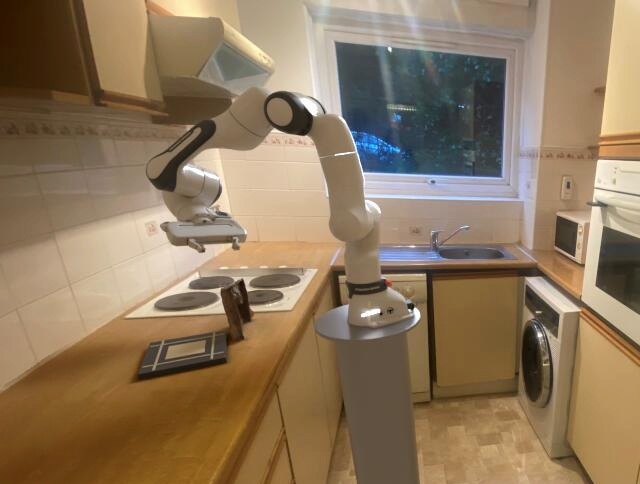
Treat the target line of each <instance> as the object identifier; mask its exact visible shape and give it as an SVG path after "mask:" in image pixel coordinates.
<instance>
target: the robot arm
mask: <svg viewBox="0 0 640 484" xmlns="http://www.w3.org/2000/svg"><path fill="white" fill-rule="evenodd" d="M274 129H275V130H277V131H279V132H281V133H284V134H287V135H293V136H300V137H305V136H306V137H308V138H309V139H311V141H312V142H313V144H314V146H315V149H316V152H317V156H318V159H319V163H320V166H321V169H322V173H323V176H324V179H325V184H326V187H327V196H328V205H329V220H328V228H329V231H330V233H331V235H332V236H333V237H334V238H335V239H337V241H340V242H343V243H345V247H344V248H345V249H344V254H343V265H344V271H345V291H346V296H347V298H348V304H349V308H348V317H347V322H348V323H349V324H351V325H355V326H365V327H370V328H378V327H382V326H385V325H389V324H393V323H396V322H400V321H403V320H407V319H411V318H414V316H415V312H414V308H416V305H415V304H414V303H413V302H412V300H411V299H406V298H405V297H404V296H403V294H402V293H400V292H398V291H396V290H394V289H393V288H391V287H392V286H393V282H392V281H391V279H388V278H387V277H384V276H382V270H381V269H382V268H381V259H380V244H381V222H382V211H381V210H380V207H379V206H378V205H377V204H376V203H375V202H373V201H372V200H368V199H366V196H365V195H366V193H365V180H366V179H365V176H364V172H363V171H364V170H363V167H362V164H361V161H360V156H359V152H358V150H357V145H356V142H355V139H354V138H353V137H354V136H353V135H352V132H351V130H350V128H349V125H348V124H347V122H346V120H345V119H344V117H342V116H340V115H338V114H335V113H328V112H327V110H326V108H325V106H324V105H323V104H322V103H321V102H320V101H319V100H318V99H316V98H314V97H312V96H310V95H305V94H303V93H301V92H297V91H287V90H277V91H274V92H272V91H271V90H270V89H268V88H266V87H264V86H262V85H252V86H250V87H249V88H248V89H245V91H243V92H242V94H240V95H238V97H237V98H236V99H235V100H234V101H233V102H232V103H231V104H230V106H229V107H228V108H227V109H226V110H225V111H223V112H222V113H221V114H219V115H216V116H215V117H212V118H208V119H202V120H200V121H198V122H197V123H195V124H194V125H193V126H191V128H190V129H189V130H187V131H186V132H185V133H183V134H182V135H181V136H180V137H179V138H178V139H177V140H176V141H174V142H173V143H172V144H171V145H170V146H169V147H167V148H166V149H165V150H164V151H162V152H160V153H157V154H156V155H155V156H152V158H150V159H149V161H148V162H147V164H146V167H145V176H146V177H147V179H148V181H149V183H150V184H151V185H152V186H153V187H154V188H155V189H156V190H158V191H161V196H162V201H163V202H164V204H165V206H166V208H167V209H168V211H169V212H170V213H171V214H172V216H173V217H175V218H176V220H177V221H164V222H162V223H160V225H159V227H160V229H161V230H162V231H163V232H164V233H165V235H166V238H167V239H168V242H169V243H170V245H172V246H174V247H189V248H191V249H193V250H195V251H197V252H198V254H204V253H206V250H207V248H206V247H205V246H209V245H225V244H226V245H227V244H231V249H232V250H233V251H240V250H241V245H240V244H244V243H246V241H247V238H248V233H247V230H246V228H244V227H243V226H242V225H241V224H240V222H239V221H237V220H236V219H233V216H232V214H231V213H229V212H225V211H221V210H219V211H218V210H216V209H211V208H210V207H212V206H213V205H214V204H215V203H216V202H217V201H218V200H219V199H220V197H221V195H222V193H223V185H222V181H221V178H220V177H219V176H218V174H217V173H216V171H212V170H210V169H207V168H204V167H202V166H199V165H195V164H192V163H190V162H192V161H193V160H194V159H196V157H198V156H199V155H200V154H201V153H202V152H205V151H207V150H212V149H213V150H214V149H224V150H232V151H239V152H247V151H248V152H249V151H253V150H254V149H257V148H258V147H259V146H260V145H261V144H262V143H263V142H264V141H265V140H266V139H267V137H268V136H269V135H270V133H271V132H273V130H274Z"/></svg>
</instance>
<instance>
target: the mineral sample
mask: <svg viewBox="0 0 640 484" xmlns="http://www.w3.org/2000/svg"><path fill="white" fill-rule="evenodd" d="M219 293H220V299H221V303H222V307H223V310H224V313H225V315H226V319H227V323H228V328H229V331H230V335H231V339H232V340H234V341H243V340H245V336H244V333H243V325H244V323H249V322H253V321H254V319H253V317H254V316H255V312H254V310H252V308H251V305H250V297H249V291H248V289H247V286H246V281H245V280H244V277H241V278H240V279H238V280H237V281H234V283H231V284H226V285H225V286H222V287H221V288H220V292H219Z"/></svg>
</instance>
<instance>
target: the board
mask: <svg viewBox="0 0 640 484" xmlns="http://www.w3.org/2000/svg"><path fill="white" fill-rule="evenodd" d="M228 336H229V335H228V331H227V329H224V330H217V331H211V332H206V333H200V334H194V335H188V336H181V337H175V338H170V339H163V340H158V341H152V342H150V343H149V345H148V347H147V350H146V352H145V355H144V357H143V360H142V362H141V364H140V368H139V370H138V372H137V378H138V379H139V380H145V379H151V378H155V377H160V376H165V375H171V374H175V373H180V372H185V371H191V370H196V369H200V368H201V369H202V368H206V367H210V366H211V367H212V366H216V365H220V364H226V363H227V362H228Z"/></svg>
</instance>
